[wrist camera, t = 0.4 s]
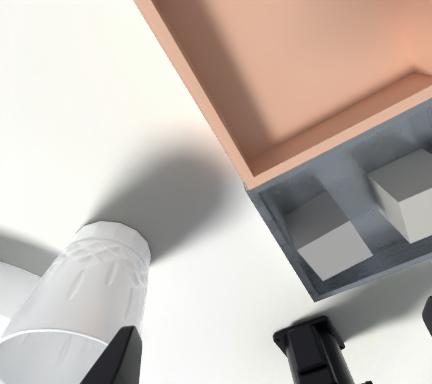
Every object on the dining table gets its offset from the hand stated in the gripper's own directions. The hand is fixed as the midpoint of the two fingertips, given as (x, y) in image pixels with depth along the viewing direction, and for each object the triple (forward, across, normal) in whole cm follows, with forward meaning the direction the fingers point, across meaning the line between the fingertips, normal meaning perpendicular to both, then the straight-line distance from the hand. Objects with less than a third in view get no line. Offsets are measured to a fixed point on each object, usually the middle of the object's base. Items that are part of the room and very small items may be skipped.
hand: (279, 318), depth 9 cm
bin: (+14, -9, +5) cm, 17 cm away
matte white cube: (+13, -12, +4) cm, 18 cm away
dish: (+13, -4, -7) cm, 16 cm away
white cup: (+14, +12, +8) cm, 20 cm away
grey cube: (+13, -6, +6) cm, 16 cm away
